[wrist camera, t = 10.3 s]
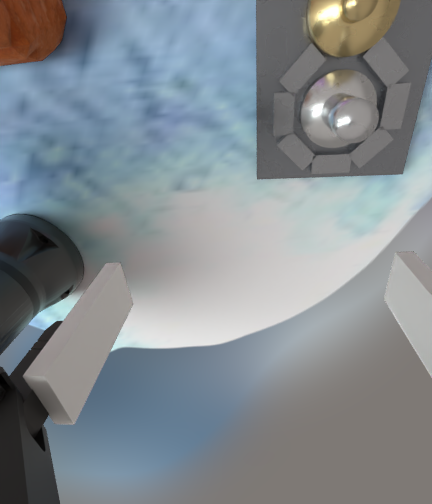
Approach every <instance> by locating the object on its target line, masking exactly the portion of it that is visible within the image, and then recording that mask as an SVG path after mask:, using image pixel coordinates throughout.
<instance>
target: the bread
mask: <svg viewBox="0 0 432 504" xmlns="http://www.w3.org/2000/svg"><path fill="white" fill-rule="evenodd" d="M66 18H67V16H66V13H65V10H64V6H63V3H62V0H0V66H4V65H12V64H19V63H27V62H35V61H43V60H44V59H45V58H46V57H47V56H48V55H49V54H51V53H52V52H53V51H54V50H55V49H56V47H57V46H58V45H59V43H60V42H61V41H62V37H63V33H64V28H65V23H66Z"/></svg>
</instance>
